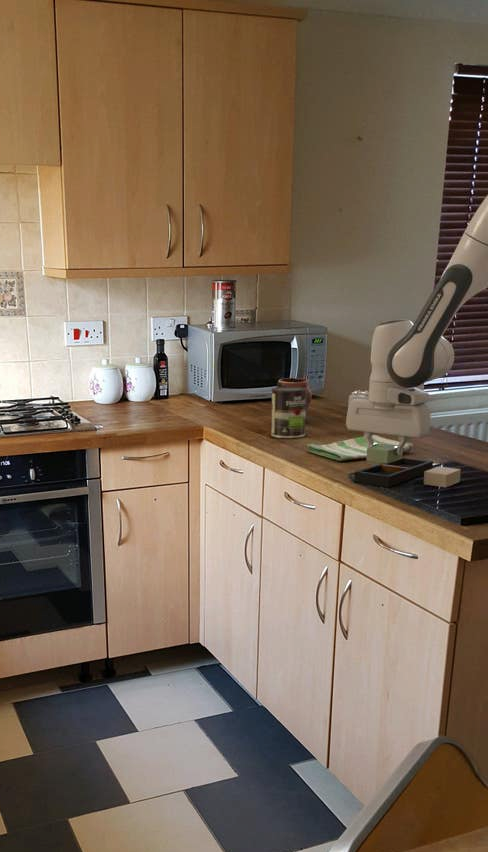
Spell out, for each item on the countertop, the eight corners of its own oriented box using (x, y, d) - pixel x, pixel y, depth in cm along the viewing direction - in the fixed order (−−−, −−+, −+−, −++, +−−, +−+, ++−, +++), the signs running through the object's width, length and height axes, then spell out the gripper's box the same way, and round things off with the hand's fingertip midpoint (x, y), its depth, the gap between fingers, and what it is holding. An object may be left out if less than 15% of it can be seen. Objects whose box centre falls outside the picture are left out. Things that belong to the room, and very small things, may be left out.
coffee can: (311, 436, 263) (313, 388, 258) (282, 439, 259) (283, 391, 254) (293, 431, 272) (294, 385, 267) (264, 434, 268) (265, 387, 263)
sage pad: (402, 458, 206) (403, 446, 205) (387, 463, 201) (387, 450, 200) (381, 455, 209) (382, 443, 208) (366, 460, 205) (366, 448, 204)
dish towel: (304, 451, 242) (305, 441, 241) (375, 443, 250) (375, 433, 249) (341, 463, 226) (341, 452, 225) (415, 453, 234) (416, 443, 233)
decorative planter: (320, 426, 279) (321, 382, 274) (283, 428, 277) (284, 384, 272) (300, 416, 298) (301, 375, 293) (265, 418, 296) (265, 377, 291)
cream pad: (459, 481, 203) (460, 469, 202) (445, 487, 198) (446, 474, 197) (437, 478, 207) (438, 466, 206) (423, 484, 202) (424, 471, 201)
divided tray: (432, 471, 214) (433, 461, 213) (388, 487, 200) (388, 476, 199) (399, 466, 220) (400, 456, 219) (354, 482, 206) (354, 471, 205)
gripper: (342, 391, 205) (339, 449, 209) (422, 398, 191) (417, 460, 196) (356, 388, 209) (354, 445, 214) (436, 394, 196) (431, 455, 200)
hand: (385, 452), depth 205 cm, fingers closed on sage pad, 5 cm apart
